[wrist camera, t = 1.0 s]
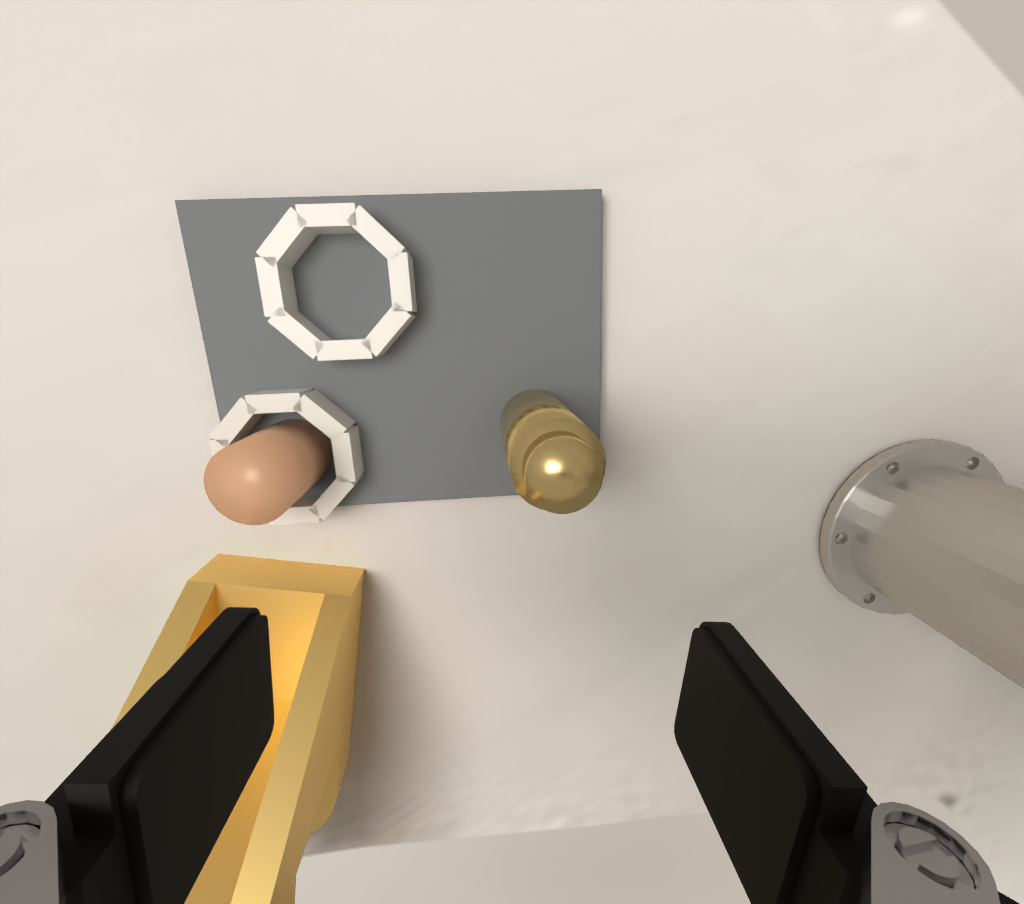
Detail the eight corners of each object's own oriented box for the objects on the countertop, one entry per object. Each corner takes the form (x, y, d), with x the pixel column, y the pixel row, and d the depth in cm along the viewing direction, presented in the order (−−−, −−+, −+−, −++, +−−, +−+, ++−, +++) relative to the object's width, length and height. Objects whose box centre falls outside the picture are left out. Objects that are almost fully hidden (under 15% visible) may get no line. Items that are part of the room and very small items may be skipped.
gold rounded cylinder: (566, 387, 28) (616, 423, 18) (567, 453, 29) (614, 522, 19) (498, 391, 28) (510, 429, 17) (501, 456, 29) (514, 529, 18)
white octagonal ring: (408, 211, 25) (402, 201, 23) (421, 354, 27) (416, 356, 25) (264, 215, 24) (245, 205, 22) (287, 360, 26) (272, 362, 24)
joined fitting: (353, 385, 27) (318, 402, 21) (368, 507, 29) (340, 552, 23) (219, 392, 27) (147, 410, 21) (244, 514, 28) (184, 562, 23)
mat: (596, 194, 26) (601, 189, 25) (594, 483, 31) (599, 489, 30) (188, 206, 25) (174, 200, 24) (248, 504, 30) (238, 511, 28)
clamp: (345, 801, 36) (246, 1153, 21) (219, 794, 35) (17, 1158, 20) (364, 568, 31) (253, 803, 16) (219, 553, 30) (-51, 787, 15)
